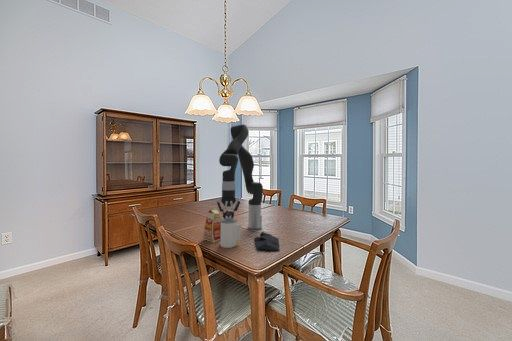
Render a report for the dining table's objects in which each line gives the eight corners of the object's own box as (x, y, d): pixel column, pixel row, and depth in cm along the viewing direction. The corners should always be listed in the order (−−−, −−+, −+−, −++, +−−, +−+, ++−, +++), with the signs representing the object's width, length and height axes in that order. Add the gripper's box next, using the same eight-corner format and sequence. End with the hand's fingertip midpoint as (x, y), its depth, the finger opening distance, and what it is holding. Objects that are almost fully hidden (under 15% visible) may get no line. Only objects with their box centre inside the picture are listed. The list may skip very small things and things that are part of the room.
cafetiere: (239, 241, 146) (239, 217, 145) (242, 246, 137) (242, 221, 136) (219, 242, 143) (219, 217, 142) (221, 248, 134) (221, 222, 133)
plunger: (230, 236, 141) (231, 209, 140) (231, 238, 138) (232, 210, 137) (224, 237, 140) (225, 209, 140) (225, 239, 137) (225, 211, 136)
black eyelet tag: (252, 252, 131) (252, 243, 131) (254, 238, 153) (254, 231, 153) (280, 252, 130) (280, 244, 130) (278, 239, 152) (278, 231, 152)
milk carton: (213, 242, 143) (213, 209, 142) (202, 239, 148) (202, 207, 147) (223, 238, 151) (223, 206, 149) (212, 235, 155) (212, 205, 154)
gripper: (239, 187, 143) (239, 216, 144) (215, 188, 140) (215, 217, 141) (241, 189, 136) (241, 219, 137) (216, 189, 132) (216, 220, 133)
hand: (228, 218), depth 139 cm, fingers closed on plunger, 3 cm apart
